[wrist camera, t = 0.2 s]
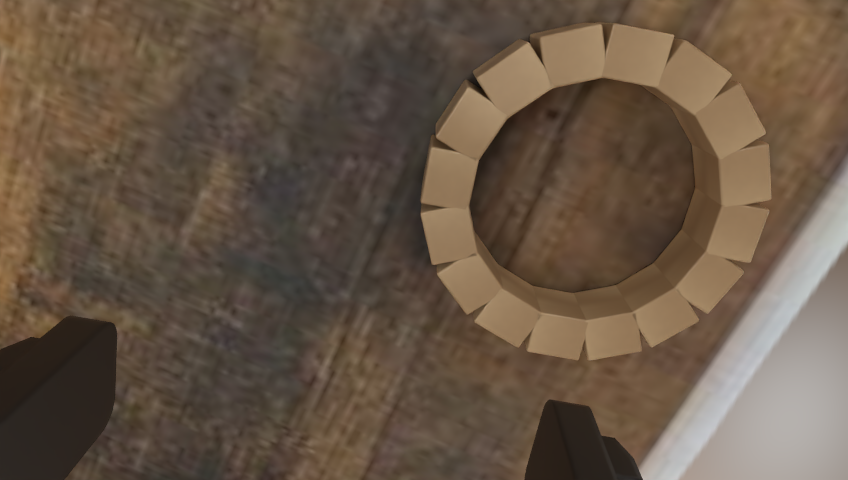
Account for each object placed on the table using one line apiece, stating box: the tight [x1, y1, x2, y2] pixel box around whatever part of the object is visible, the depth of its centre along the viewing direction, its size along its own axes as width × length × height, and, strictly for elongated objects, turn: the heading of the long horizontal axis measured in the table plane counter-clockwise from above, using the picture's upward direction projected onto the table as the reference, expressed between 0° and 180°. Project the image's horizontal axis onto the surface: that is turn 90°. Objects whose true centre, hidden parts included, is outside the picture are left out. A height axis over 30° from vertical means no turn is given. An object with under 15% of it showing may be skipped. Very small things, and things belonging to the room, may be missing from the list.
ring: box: [420, 22, 771, 360], centre depth 22 cm, size 11×11×2 cm
